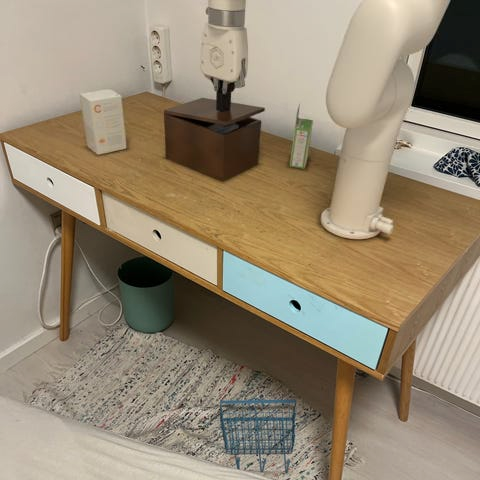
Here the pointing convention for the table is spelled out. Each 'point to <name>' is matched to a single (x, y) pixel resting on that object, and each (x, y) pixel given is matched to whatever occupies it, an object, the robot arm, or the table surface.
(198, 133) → the chest
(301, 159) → the ink box
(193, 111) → the chest lid
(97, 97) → the small box
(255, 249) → the table surface
